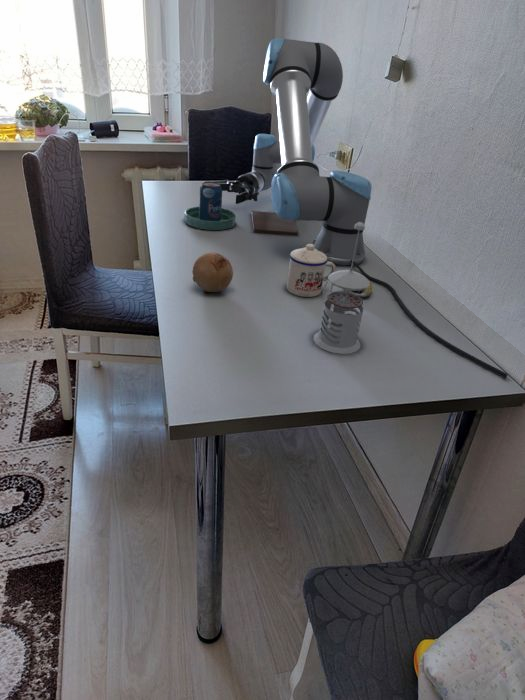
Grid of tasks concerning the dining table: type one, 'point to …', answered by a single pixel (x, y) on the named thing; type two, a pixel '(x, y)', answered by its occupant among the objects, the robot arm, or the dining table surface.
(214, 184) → the soda can
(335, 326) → the french press
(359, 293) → the pastry
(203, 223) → the bowl
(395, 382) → the dining table surface
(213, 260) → the onion
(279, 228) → the board
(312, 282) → the teacup with lid
